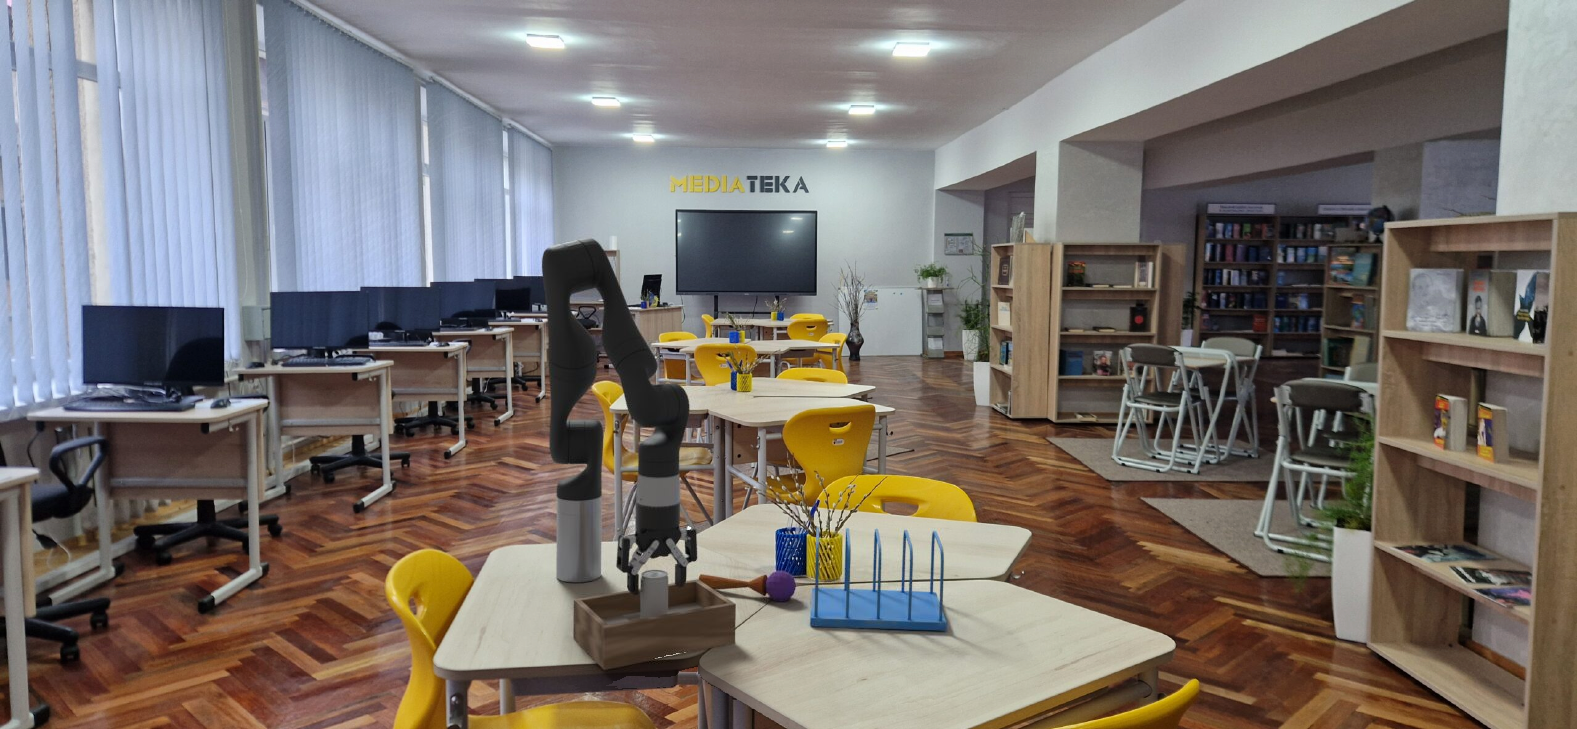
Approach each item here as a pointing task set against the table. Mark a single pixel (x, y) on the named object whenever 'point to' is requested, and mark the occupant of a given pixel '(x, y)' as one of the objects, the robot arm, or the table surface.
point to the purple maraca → (757, 584)
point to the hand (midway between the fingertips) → (657, 589)
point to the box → (652, 625)
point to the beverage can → (654, 593)
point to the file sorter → (879, 597)
